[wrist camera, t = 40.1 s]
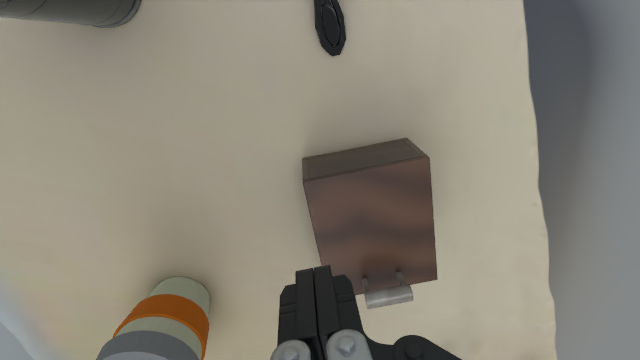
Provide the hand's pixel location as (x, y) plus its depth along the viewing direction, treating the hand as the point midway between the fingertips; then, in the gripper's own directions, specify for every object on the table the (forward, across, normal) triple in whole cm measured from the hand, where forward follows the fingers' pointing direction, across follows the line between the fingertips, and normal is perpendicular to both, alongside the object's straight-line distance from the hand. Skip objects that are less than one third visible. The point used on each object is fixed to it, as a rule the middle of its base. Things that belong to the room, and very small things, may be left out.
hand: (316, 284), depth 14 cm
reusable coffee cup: (+33, +25, +24) cm, 48 cm away
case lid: (+24, -6, +14) cm, 28 cm away
